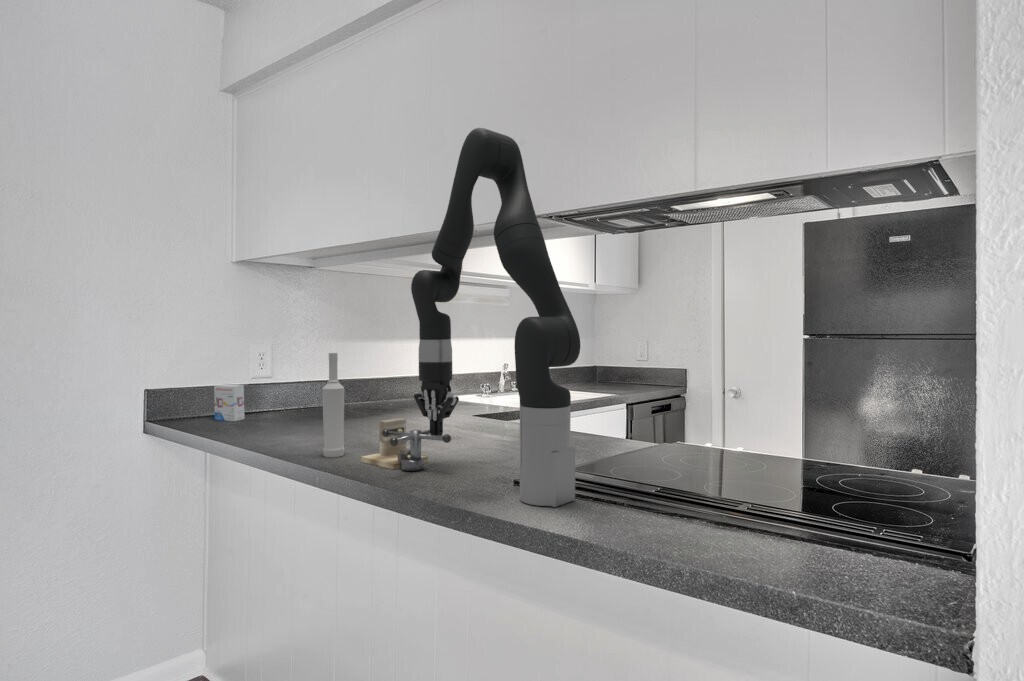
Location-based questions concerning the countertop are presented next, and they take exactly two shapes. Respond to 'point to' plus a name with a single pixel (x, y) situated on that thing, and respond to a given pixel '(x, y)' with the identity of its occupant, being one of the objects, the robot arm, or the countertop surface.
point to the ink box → (229, 402)
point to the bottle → (333, 412)
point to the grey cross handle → (413, 446)
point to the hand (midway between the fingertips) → (436, 436)
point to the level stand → (388, 453)
